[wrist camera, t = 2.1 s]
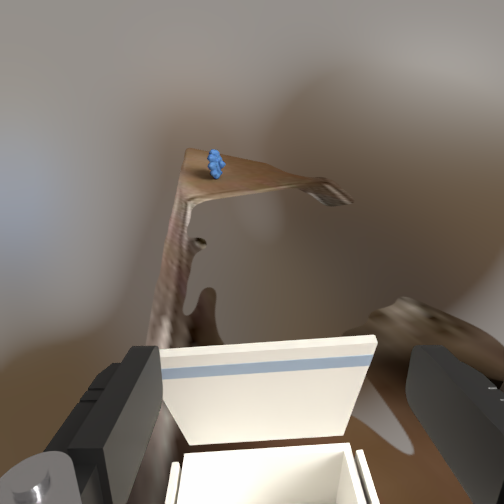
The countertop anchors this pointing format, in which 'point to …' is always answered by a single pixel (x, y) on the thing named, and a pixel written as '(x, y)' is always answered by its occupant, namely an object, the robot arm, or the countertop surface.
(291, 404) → the flap
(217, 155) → the grapes
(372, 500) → the carton
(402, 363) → the countertop surface
